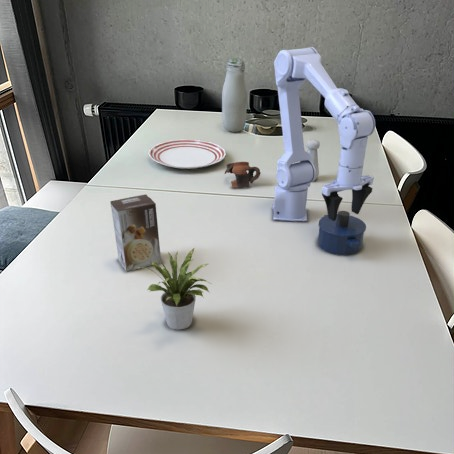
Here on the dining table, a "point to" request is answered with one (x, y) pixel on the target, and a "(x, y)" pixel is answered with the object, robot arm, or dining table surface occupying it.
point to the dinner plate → (187, 153)
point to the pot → (339, 243)
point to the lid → (342, 225)
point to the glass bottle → (234, 96)
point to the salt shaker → (313, 153)
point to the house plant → (178, 292)
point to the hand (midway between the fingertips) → (343, 215)
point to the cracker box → (136, 231)
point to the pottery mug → (242, 174)
